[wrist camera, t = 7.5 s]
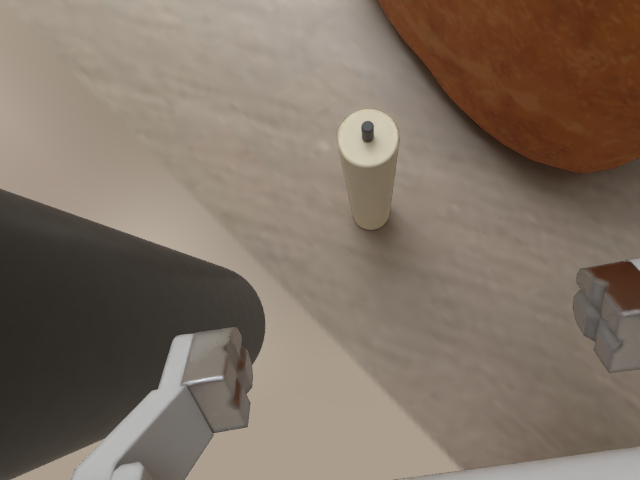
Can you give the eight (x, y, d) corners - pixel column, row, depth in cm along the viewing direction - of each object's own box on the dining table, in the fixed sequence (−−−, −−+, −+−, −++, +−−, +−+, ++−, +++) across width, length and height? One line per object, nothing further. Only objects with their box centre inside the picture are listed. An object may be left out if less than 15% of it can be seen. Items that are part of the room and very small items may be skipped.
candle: (362, 236, 20) (352, 169, 11) (346, 204, 21) (323, 113, 12) (396, 219, 20) (412, 139, 11) (379, 187, 21) (382, 83, 12)
